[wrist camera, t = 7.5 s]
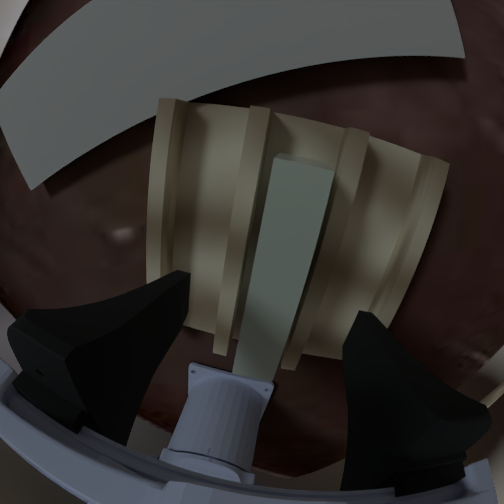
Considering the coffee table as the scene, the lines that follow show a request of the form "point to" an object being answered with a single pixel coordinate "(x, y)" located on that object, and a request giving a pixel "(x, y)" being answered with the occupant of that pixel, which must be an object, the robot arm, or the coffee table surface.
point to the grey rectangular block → (189, 61)
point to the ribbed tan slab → (251, 212)
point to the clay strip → (281, 261)
